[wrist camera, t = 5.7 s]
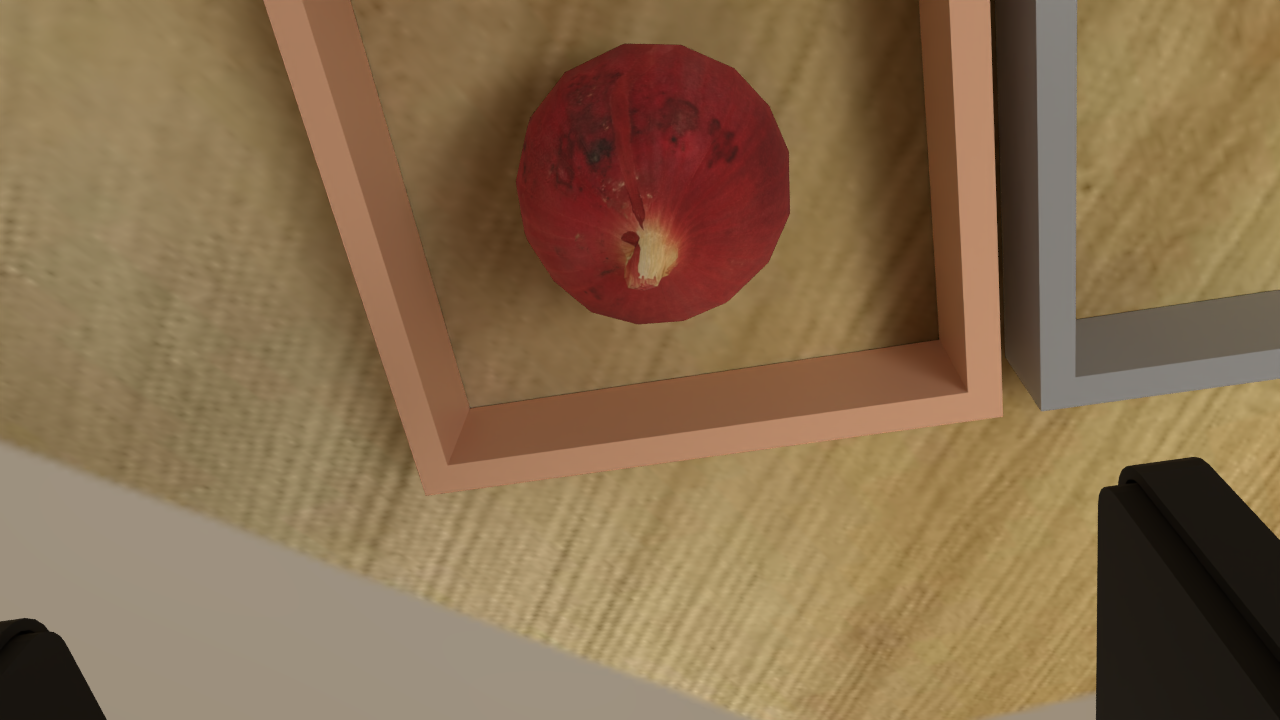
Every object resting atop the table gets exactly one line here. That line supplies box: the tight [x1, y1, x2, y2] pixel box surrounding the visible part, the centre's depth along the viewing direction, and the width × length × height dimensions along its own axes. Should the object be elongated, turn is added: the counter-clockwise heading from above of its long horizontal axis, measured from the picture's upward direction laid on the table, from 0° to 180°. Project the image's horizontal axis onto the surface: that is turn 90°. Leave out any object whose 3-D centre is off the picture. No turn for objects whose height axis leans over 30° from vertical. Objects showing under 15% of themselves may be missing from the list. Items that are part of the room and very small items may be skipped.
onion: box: [516, 44, 790, 324], centre depth 21 cm, size 6×6×8 cm
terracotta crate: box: [263, 0, 1003, 496], centre depth 23 cm, size 15×15×3 cm
